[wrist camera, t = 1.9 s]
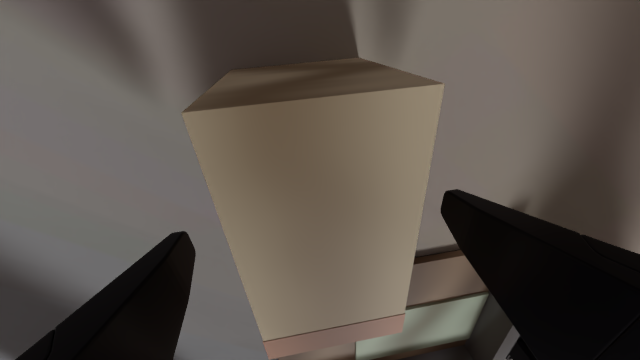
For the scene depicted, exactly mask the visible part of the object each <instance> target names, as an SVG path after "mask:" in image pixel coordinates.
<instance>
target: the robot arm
mask: <svg viewBox="0 0 640 360" xmlns="http://www.w3.org/2000/svg"><path fill="white" fill-rule="evenodd" d="M441 214H442V217H443V219H444V220H445V222H446V224H447V226H448V228H449V229H450V231H451V233H452V235H453V237H454V239H455V240H456V242H457V244H458V246H459V247H460V249H461V251H462V252H463V254H464V255H465V257H466V258H467V260H468V261H469V263H470V264H471V265H472V267H473V268H474V270H475V271H476V273H477V274H478V276H479V277H480V278H481V280H482V281H483V283H484V284H485V286H486V287H487V289H488V290H489V291H490V293H491V294H492V296H493V297H494V299H495V300H496V301H497V303H498V304H499V306H500V307H501V309H502V310H503V312H504V313H505V314H506V316H507V317H508V319H509V320H510V322H511V323H512V324H513V326H514V327H515V329H516V330H517V332H518V333H519V335H520V336H519V338H518V339H517V341H516V342H515V344H514V346H513V347H512V349H511V350H510V352H509V353H508V355H507V357H506V359H507V360H511V359H513V360H640V254H638V253H635V252H631V251H628V250H625V249H623V248H620V247H617V246H614V245H611V244H608V243H605V242H602V241H600V240H597V239H594V238H591V237H589V236H586V235H580V234H579V233H577V232H575V231H572V230H569V229H566V228H563V227H561V226H558V225H555V224H552V223H550V222H547V221H544V220H541V219H538V218H536V217H533V216H530V215H527V214H525V213H522V212H519V211H516V210H514V209H511V208H508V207H505V206H502V205H500V204H497V203H494V202H491V201H489V200H486V199H483V198H480V197H478V196H475V195H472V194H469V193H466V192H464V191H461V190H458V189H455V190H448V191H446V192H445V193H444V196H443V201H442V205H441ZM194 262H195V248H194V246H193V244H192V242H191V240H190V237H189V235H188V234H187V232H185V231H181V232H175V233H171V234H170V235H169V236H168V237H166V238H165V239H164V240H163V241H161V242H160V243H159V244H158V245H156V246H155V247H154V248H153V249H151V250H150V251H149V252H148V253H147V254H145V255H144V256H143V257H142V258H140V259H139V260H138V261H137V262H135V263H134V264H133V265H132V266H131V267H129V268H128V269H127V270H126V271H124V272H123V273H122V274H121V275H119V276H118V277H117V278H116V279H114V280H113V281H112V282H111V283H110V284H108V285H107V286H106V287H105V288H103V289H102V290H101V291H100V292H98V293H97V294H96V295H95V296H94V297H92V298H91V299H90V300H89V301H87V302H86V303H85V304H84V305H82V306H81V307H80V308H79V309H77V310H76V311H75V312H74V313H73V314H71V315H70V316H69V317H68V318H66V319H65V320H64V321H63V322H61V323H60V324H59V325H58V326H57V327H56V328H55V330H52V331H50V332H49V333H48V334H47V335H45V336H44V337H43V338H42V339H40V340H39V341H38V342H37V343H36V344H34V345H33V346H32V347H31V348H29V349H28V350H27V351H25V352H24V353H23V354H22V355H20V356H19V357H18V358H17V359H15V360H173V357H174V353H175V349H176V346H177V342H178V338H179V334H180V331H181V327H182V323H183V320H184V316H185V312H186V308H187V304H188V300H189V295H190V289H191V282H192V275H193V269H194Z"/></svg>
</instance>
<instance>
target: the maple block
mask: <svg viewBox="0 0 640 360" xmlns="http://www.w3.org/2000/svg"><path fill="white" fill-rule="evenodd" d="M444 86H445V84H444V83H441V82H437V81H434V80H431V79H427V78H424V77H421V76H418V75H414V74H411V73H408V72H404V71H401V70H398V69H395V68H391V67H388V66H385V65H381V64H378V63H375V62H372V61H368V60H365V59H362V58H349V59H339V60H328V61H318V62H308V63H297V64H287V65H277V66H266V67H256V68H245V69H235V70H231V71H229V72H228V73H227V74H226V75H225V76H224V77H222V78H221V79H220V80H219V81H218V82H217V83H216V84H214V85H213V86H212V87H211V88H210V89H209V90H207V91H206V92H205V93H204V94H203V95H202V96H200V97H199V98H198V99H197V100H196V101H195V102H193V103H192V104H191V105H190V106H189V107H188V108H186V109H185V110H184V111H183V112H182V116H183V119H184V122H185V124H186V127H187V130H188V133H189V135H190V138H191V141H192V144H193V147H194V149H195V152H196V155H197V158H198V161H199V163H200V166H201V169H202V172H203V174H204V177H205V180H206V183H207V186H208V188H209V191H210V194H211V197H212V200H213V202H214V205H215V208H216V211H217V213H218V216H219V219H220V222H221V225H222V227H223V230H224V233H225V236H226V239H227V241H228V244H229V247H230V250H231V252H232V255H233V258H234V261H235V264H236V266H237V269H238V272H239V275H240V278H241V280H242V283H243V286H244V289H245V291H246V294H247V297H248V300H249V303H250V305H251V308H252V311H253V314H254V316H255V319H256V322H257V325H258V328H259V330H260V333H261V336H262V339H263V344H264V347H265V350H266V352H267V355H268V358H269V360H270V359H274V358H279V357H284V356H289V355H294V354H299V353H304V352H308V351H313V350H318V349H323V348H328V347H333V346H338V345H343V344H347V343H352V342H357V341H362V340H367V339H372V338H377V337H381V336H386V335H391V334H396V333H401V332H402V330H403V324H404V319H405V308H406V303H407V297H408V291H409V285H410V280H411V274H412V268H413V263H414V257H415V251H416V246H417V240H418V234H419V228H420V223H421V217H422V211H423V206H424V200H425V194H426V188H427V183H428V177H429V171H430V166H431V160H432V154H433V148H434V143H435V137H436V131H437V126H438V120H439V114H440V108H441V103H442V97H443V91H444Z"/></svg>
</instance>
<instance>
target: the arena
mask: <svg viewBox="0 0 640 360" xmlns="http://www.w3.org/2000/svg"><path fill="white" fill-rule="evenodd" d="M519 336H520V335H519V333H518V332H517V330H516V329H515V327H514V326H513V324H512V323H511V322H510V320H509V319H508V317H507V316H506V314H505V313H504V312H503V310H502V309H501V307H500V306H499V304H498V303H497V301H496V300H495V299H494V297H493V296H492V294H491V293H490V291H489V290H488V289H487V287H486V286H485V284H484V283H483V281H482V280H481V278H480V277H479V276H478V274H477V273H476V271H475V270H474V268H473V267H472V265H471V264H470V263H469V261H468V260H467V258H466V257H465V255H464V254H463V252H462V251H461V250H457V251H451V252H446V253H440V254H434V255H429V256H423V257H417V258H414V263H413V268H412V274H411V280H410V285H409V291H408V297H407V303H406V308H405V319H404V324H403V330H402V332H401V333H396V334H391V335H386V336H381V337H377V338H372V339H367V340H362V341H357V342H352V343H347V344H343V345H338V346H333V347H328V348H323V349H318V350H313V351H308V352H304V353H299V354H294V355H289V356H284V357H279V358H278V360H505V358H506V357H507V355H508V353H509V352H510V350H511V349H512V347H513V346H514V344H515V342H516V341H517V339H518V338H519Z"/></svg>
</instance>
